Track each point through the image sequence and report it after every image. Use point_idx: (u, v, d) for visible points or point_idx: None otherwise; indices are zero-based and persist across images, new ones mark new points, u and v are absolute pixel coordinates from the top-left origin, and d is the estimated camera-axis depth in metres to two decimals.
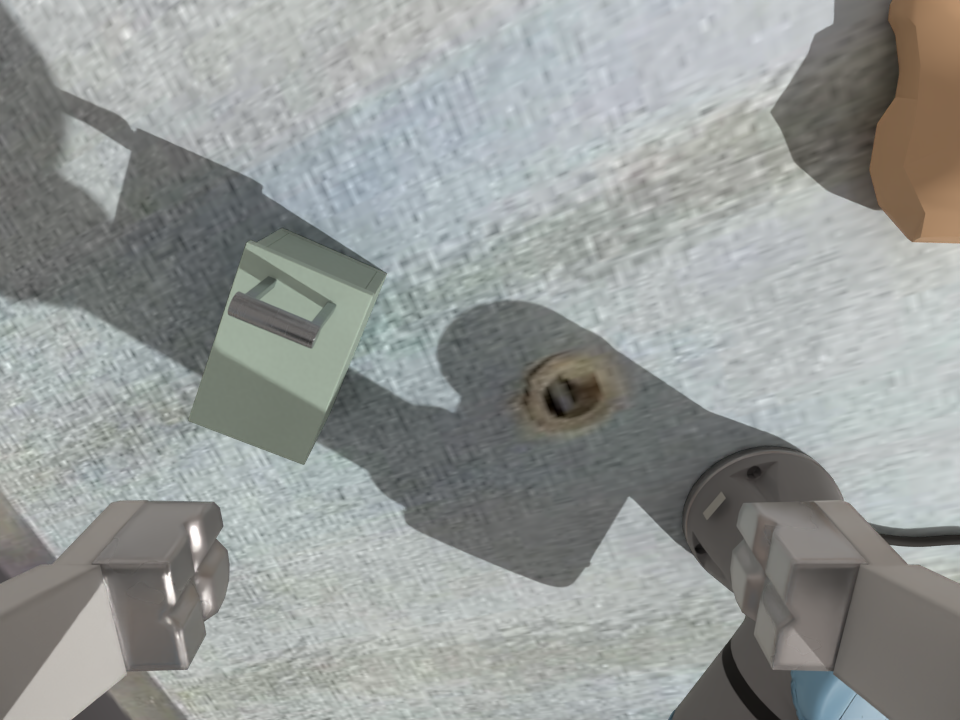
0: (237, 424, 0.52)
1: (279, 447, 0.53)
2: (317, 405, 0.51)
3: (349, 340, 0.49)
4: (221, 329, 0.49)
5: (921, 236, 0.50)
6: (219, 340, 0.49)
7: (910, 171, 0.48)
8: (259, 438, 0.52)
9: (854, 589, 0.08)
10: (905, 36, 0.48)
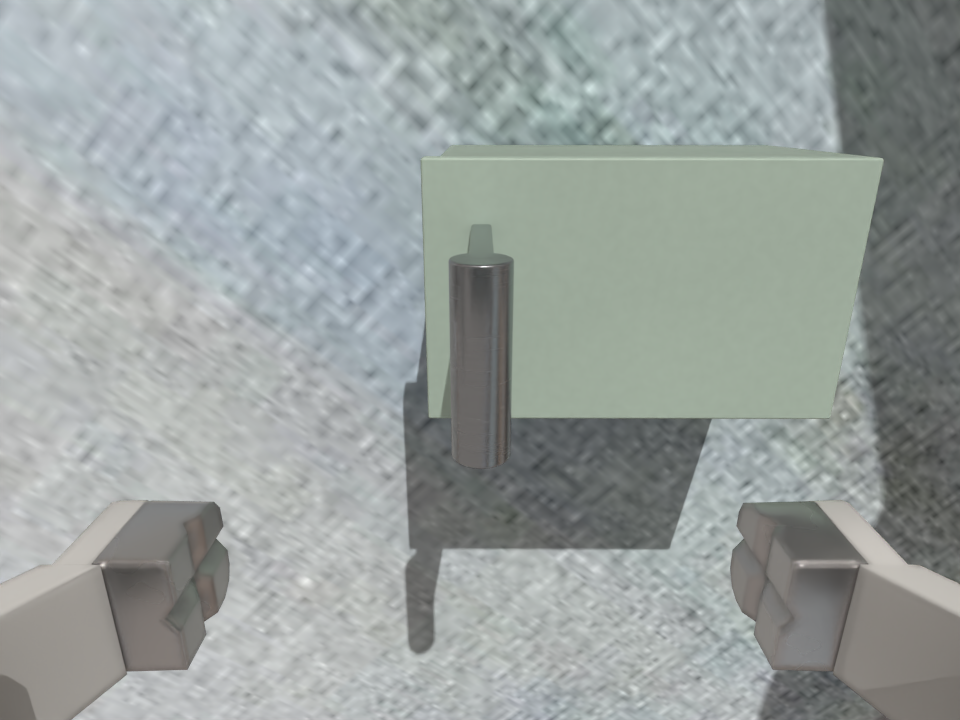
0: (814, 329, 0.24)
1: (848, 228, 0.23)
2: (717, 181, 0.22)
3: (538, 168, 0.22)
4: (612, 413, 0.25)
5: None
6: (635, 409, 0.25)
7: None
8: (835, 276, 0.23)
9: (854, 589, 0.08)
10: None
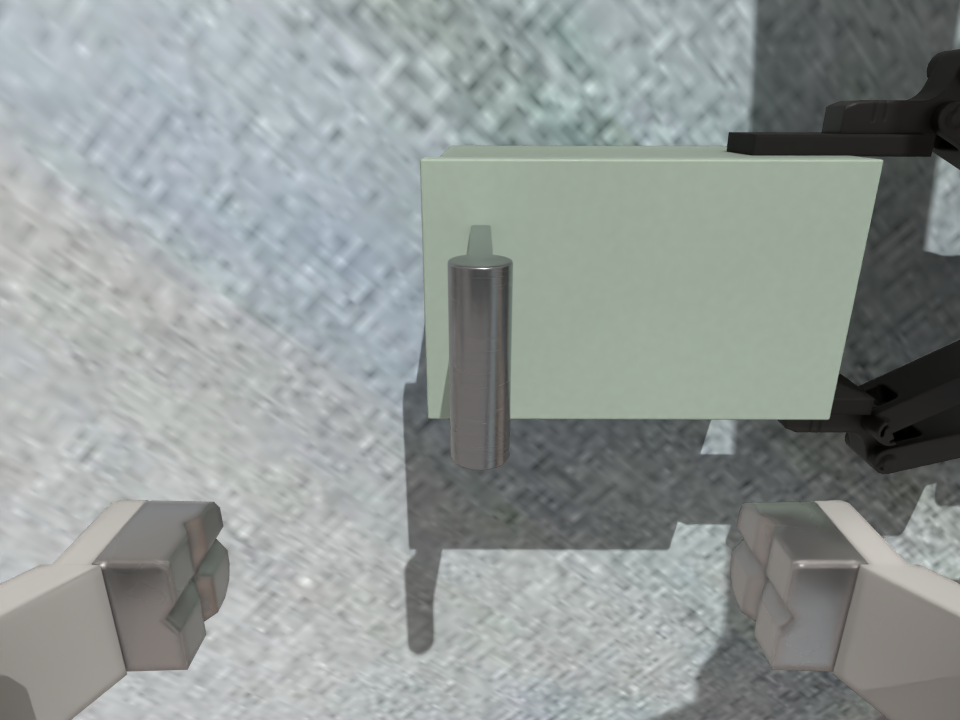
0: (813, 330, 0.24)
1: (848, 229, 0.23)
2: (717, 183, 0.22)
3: (538, 169, 0.22)
4: (611, 413, 0.25)
5: None
6: (634, 410, 0.25)
7: None
8: (834, 278, 0.23)
9: (854, 589, 0.08)
10: None
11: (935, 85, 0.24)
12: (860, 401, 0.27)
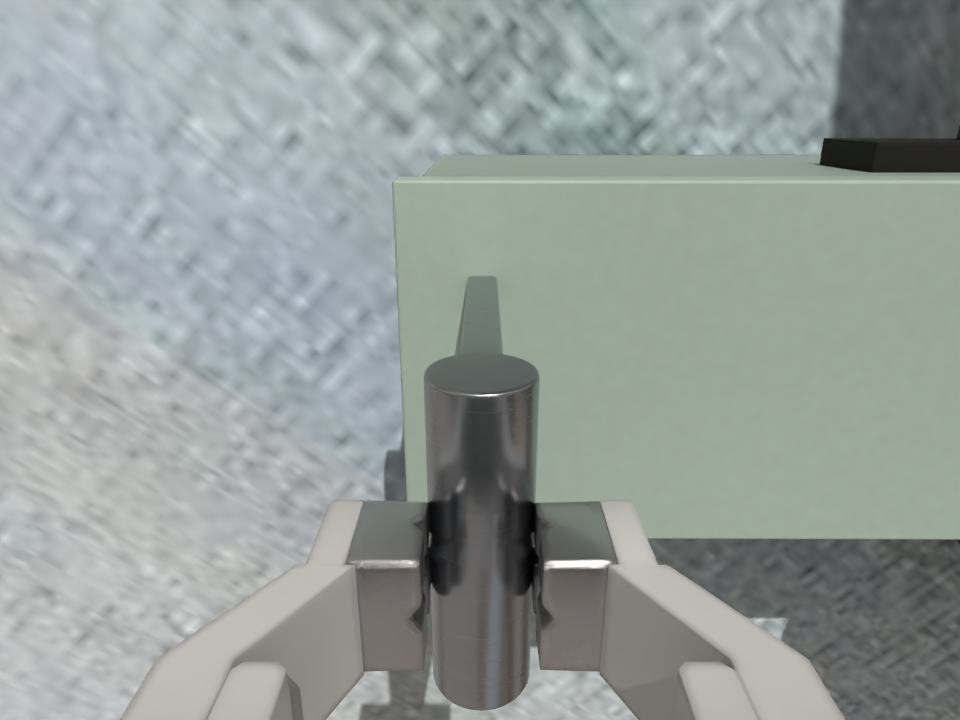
0: (956, 421, 0.17)
1: None
2: (831, 215, 0.15)
3: (566, 195, 0.15)
4: (664, 532, 0.18)
5: None
6: (697, 528, 0.18)
7: None
8: None
9: (605, 589, 0.08)
10: None
11: None
12: None
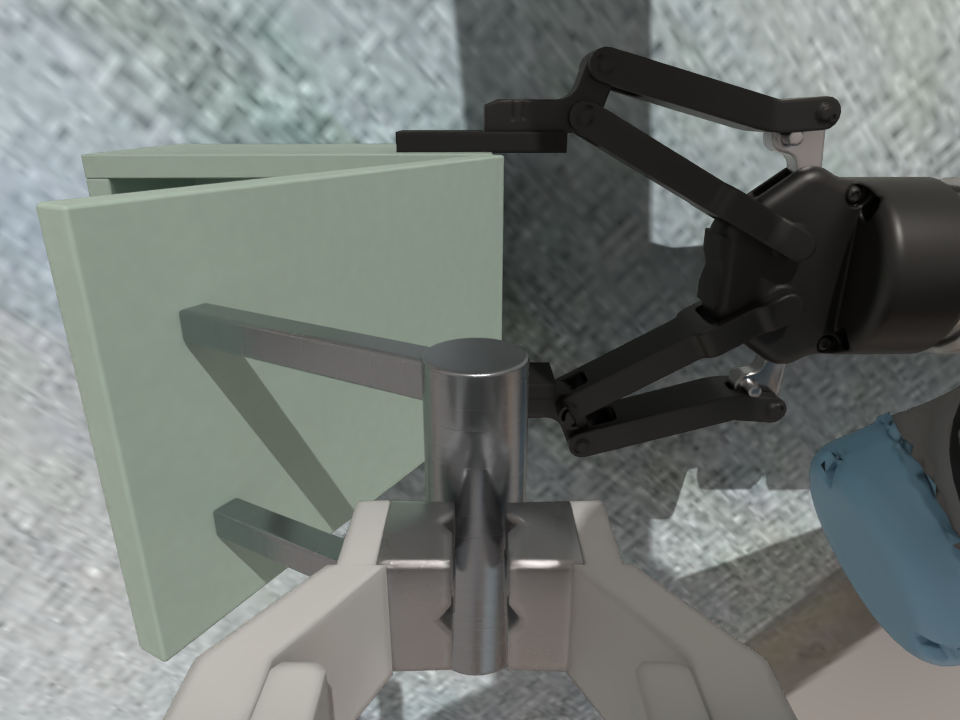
0: (486, 325, 0.24)
1: (494, 223, 0.24)
2: (417, 192, 0.19)
3: (254, 200, 0.14)
4: (371, 496, 0.20)
5: None
6: (388, 479, 0.20)
7: None
8: (491, 272, 0.24)
9: (571, 589, 0.08)
10: None
11: (575, 85, 0.26)
12: (543, 387, 0.29)
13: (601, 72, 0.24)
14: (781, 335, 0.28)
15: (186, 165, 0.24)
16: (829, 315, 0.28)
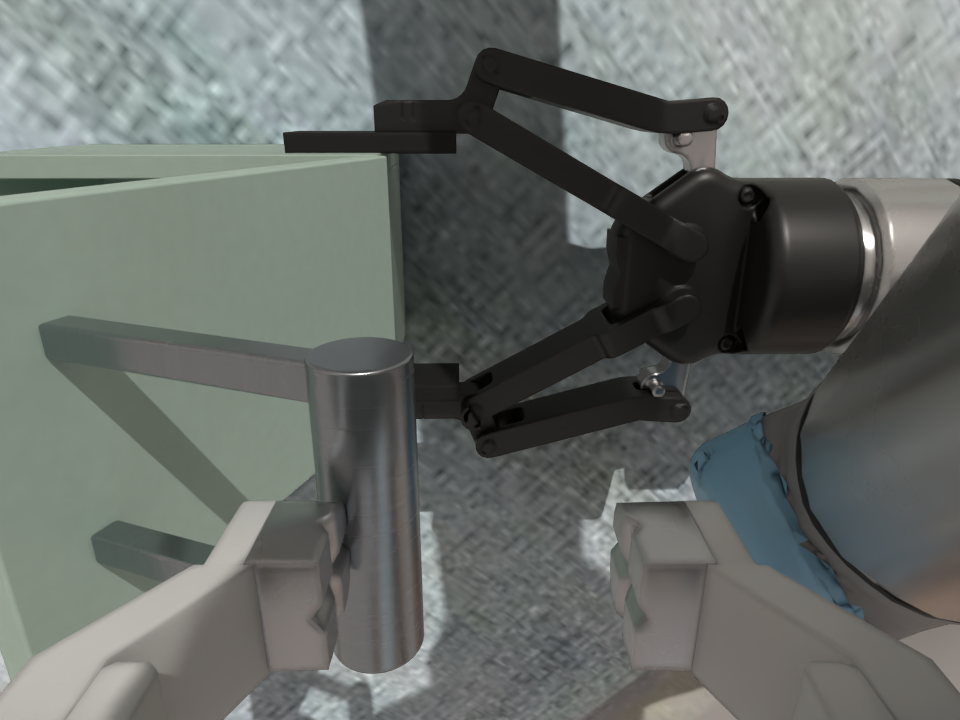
0: (379, 326, 0.24)
1: (380, 224, 0.23)
2: (298, 194, 0.19)
3: (118, 205, 0.13)
4: None
5: None
6: (285, 488, 0.20)
7: None
8: (381, 272, 0.24)
9: (703, 589, 0.08)
10: None
11: None
12: (446, 388, 0.29)
13: (487, 73, 0.24)
14: (682, 335, 0.28)
15: (68, 165, 0.24)
16: (728, 315, 0.28)
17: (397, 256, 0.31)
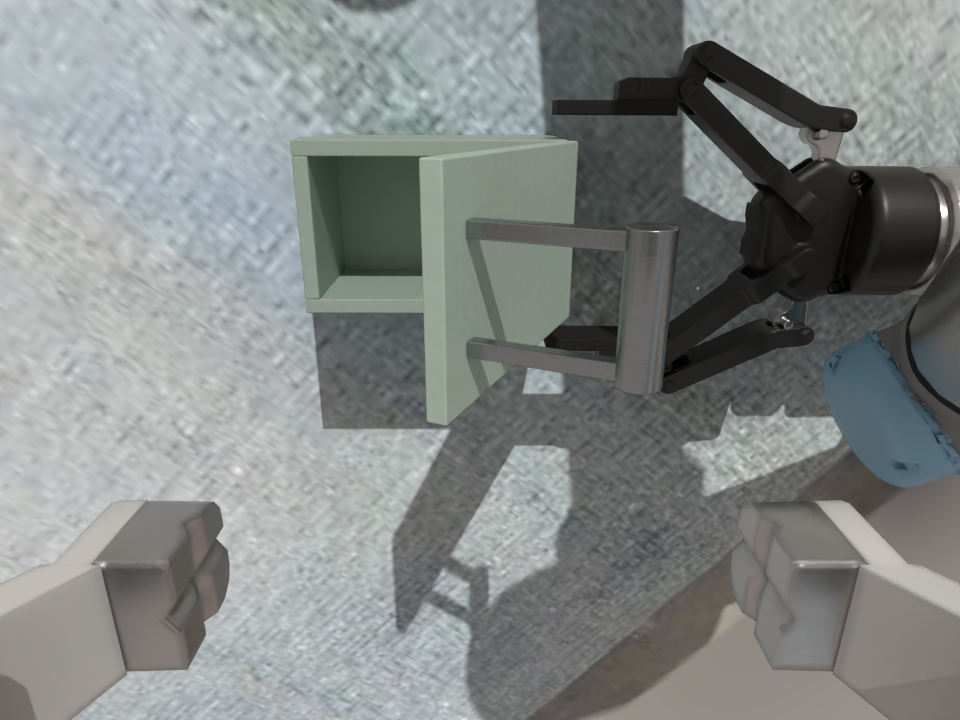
0: (565, 258, 0.35)
1: (572, 187, 0.35)
2: (543, 163, 0.30)
3: (490, 161, 0.25)
4: None
5: None
6: None
7: None
8: (569, 221, 0.35)
9: (854, 589, 0.08)
10: None
11: (683, 68, 0.36)
12: None
13: (704, 57, 0.35)
14: (800, 281, 0.39)
15: (360, 147, 0.35)
16: (836, 265, 0.39)
17: None
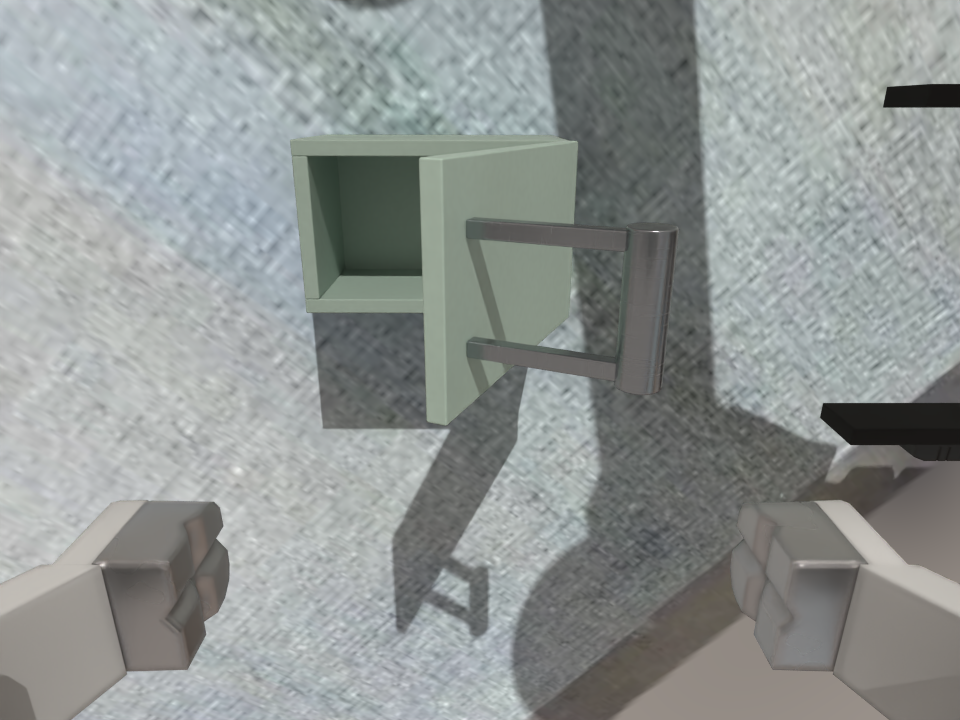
0: (565, 258, 0.35)
1: (572, 187, 0.35)
2: (543, 163, 0.30)
3: (490, 161, 0.25)
4: None
5: None
6: None
7: None
8: (569, 221, 0.35)
9: (854, 589, 0.08)
10: None
11: None
12: None
13: None
14: None
15: (360, 147, 0.35)
16: None
17: None
